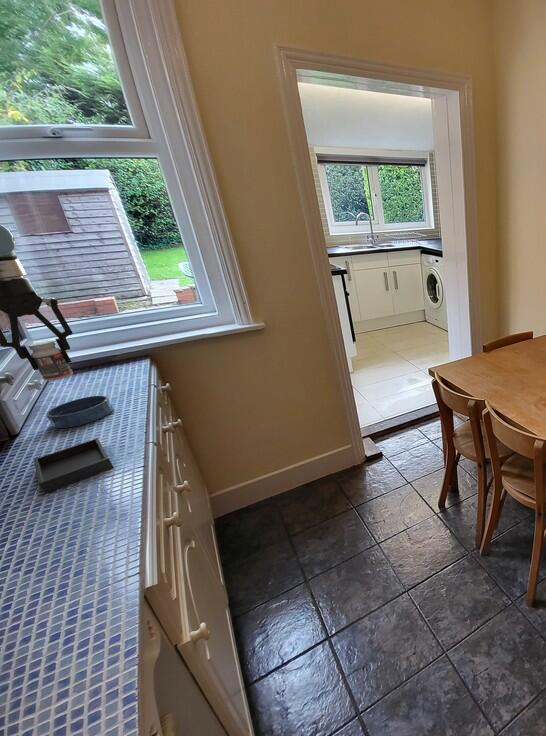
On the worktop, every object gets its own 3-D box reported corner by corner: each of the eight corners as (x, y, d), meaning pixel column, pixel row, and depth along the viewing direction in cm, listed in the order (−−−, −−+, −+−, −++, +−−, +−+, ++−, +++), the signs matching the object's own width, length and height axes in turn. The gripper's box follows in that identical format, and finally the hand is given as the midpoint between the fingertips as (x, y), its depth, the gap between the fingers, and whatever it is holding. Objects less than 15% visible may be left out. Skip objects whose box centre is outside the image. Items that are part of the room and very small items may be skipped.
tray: (39, 468, 96) (33, 459, 95) (102, 446, 104) (97, 437, 102) (45, 493, 87) (38, 483, 86) (113, 467, 94) (108, 458, 93)
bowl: (55, 433, 111) (47, 421, 109) (52, 420, 119) (44, 408, 117) (116, 415, 120) (110, 402, 118) (109, 403, 128) (103, 391, 126)
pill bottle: (70, 377, 112) (52, 343, 108) (41, 383, 109) (21, 347, 105) (76, 371, 117) (58, 338, 112) (48, 376, 114) (29, 342, 110)
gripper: (-56, 286, 93) (1, 379, 103) (59, 273, 106) (100, 357, 116) (-53, 284, 98) (1, 373, 107) (57, 272, 111) (97, 352, 120)
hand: (52, 365), depth 111 cm, fingers closed on pill bottle, 6 cm apart
